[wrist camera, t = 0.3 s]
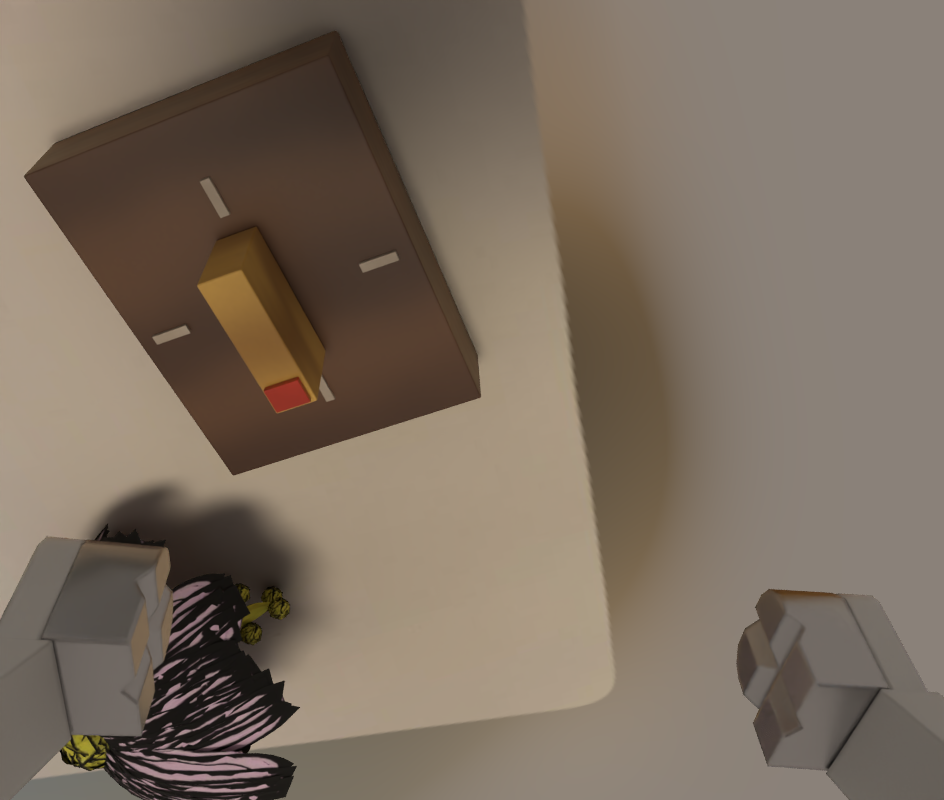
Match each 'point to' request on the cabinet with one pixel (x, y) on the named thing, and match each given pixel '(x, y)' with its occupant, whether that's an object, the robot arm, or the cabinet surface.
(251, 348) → the lock knob
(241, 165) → the plate
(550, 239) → the cabinet surface
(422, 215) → the cabinet surface
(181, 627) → the decorative flower
